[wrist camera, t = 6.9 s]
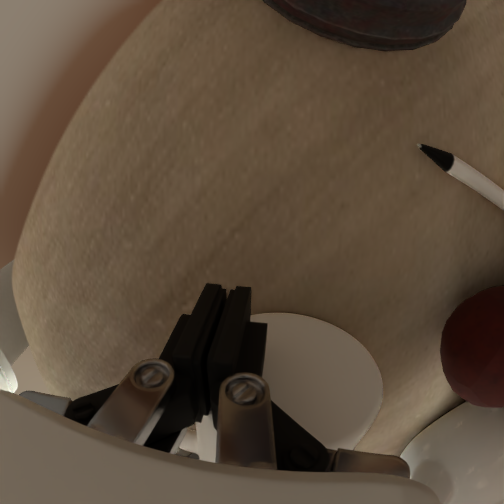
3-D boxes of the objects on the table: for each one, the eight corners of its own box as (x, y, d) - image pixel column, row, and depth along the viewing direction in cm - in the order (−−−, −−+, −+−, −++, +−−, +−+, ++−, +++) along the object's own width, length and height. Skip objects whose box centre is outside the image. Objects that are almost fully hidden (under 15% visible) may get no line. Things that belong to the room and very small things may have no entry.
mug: (366, 319, 15) (401, 451, 7) (321, 422, 19) (322, 518, 12) (143, 287, 15) (65, 397, 8) (161, 398, 20) (125, 486, 12)
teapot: (393, 485, 25) (401, 573, 12) (373, 428, 19) (386, 584, 6) (521, 426, 19) (548, 504, 7) (557, 331, 13) (623, 441, 1)
